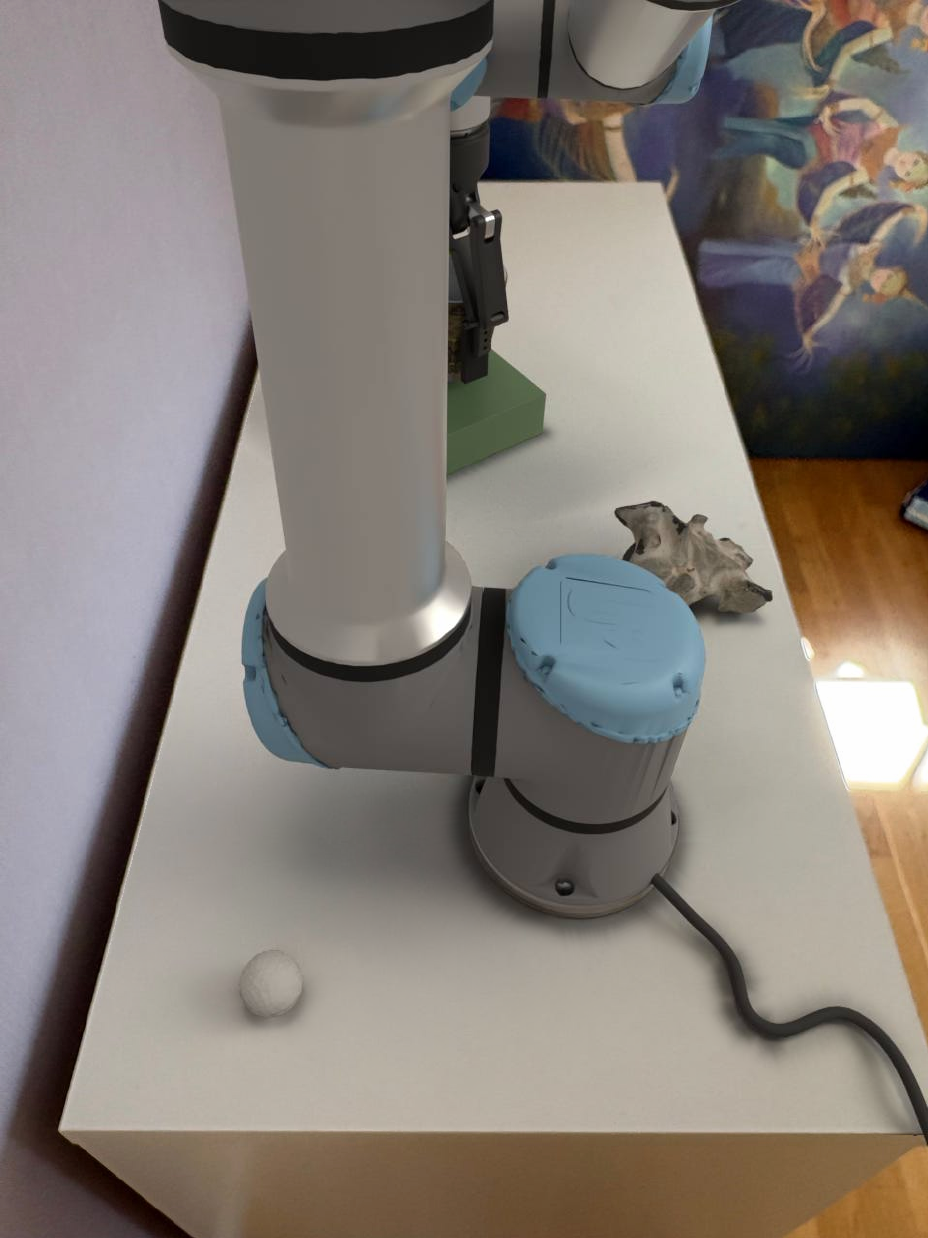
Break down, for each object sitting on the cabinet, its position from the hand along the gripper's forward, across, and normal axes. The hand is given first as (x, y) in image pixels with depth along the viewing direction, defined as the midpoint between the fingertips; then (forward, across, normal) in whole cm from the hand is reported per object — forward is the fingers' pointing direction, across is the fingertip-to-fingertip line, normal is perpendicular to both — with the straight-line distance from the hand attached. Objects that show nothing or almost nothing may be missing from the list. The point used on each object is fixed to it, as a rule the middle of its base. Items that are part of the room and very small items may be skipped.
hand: (444, 352), depth 96 cm
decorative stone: (0, -34, -5) cm, 34 cm away
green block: (+8, 0, 0) cm, 8 cm away
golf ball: (+8, -44, +43) cm, 62 cm away
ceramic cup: (+2, -1, 0) cm, 2 cm away
